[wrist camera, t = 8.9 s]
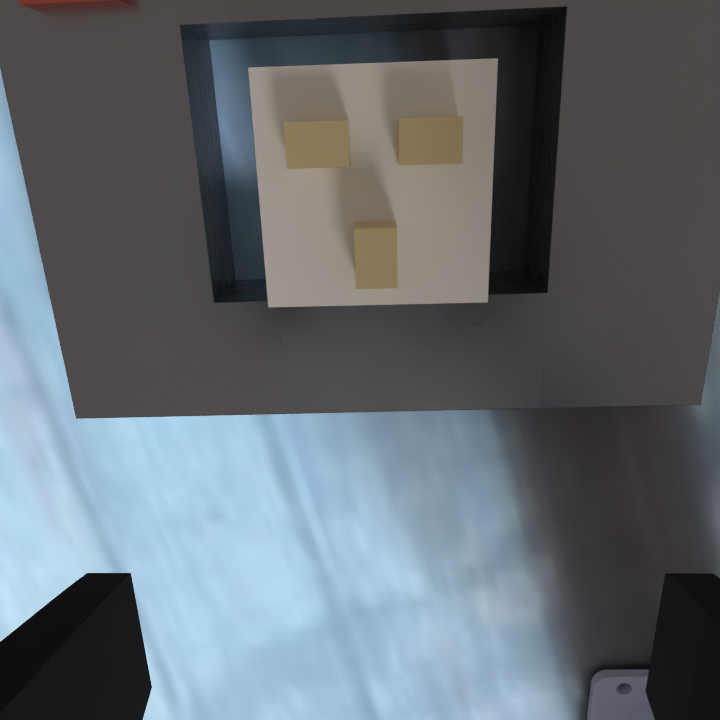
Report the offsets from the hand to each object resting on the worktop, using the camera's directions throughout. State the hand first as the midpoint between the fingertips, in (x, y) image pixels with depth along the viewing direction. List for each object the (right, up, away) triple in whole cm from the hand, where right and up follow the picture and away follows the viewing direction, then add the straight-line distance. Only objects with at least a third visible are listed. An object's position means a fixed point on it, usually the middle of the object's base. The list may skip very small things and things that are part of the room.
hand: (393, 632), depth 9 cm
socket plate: (0, +9, +8) cm, 12 cm away
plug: (0, +9, +8) cm, 12 cm away
